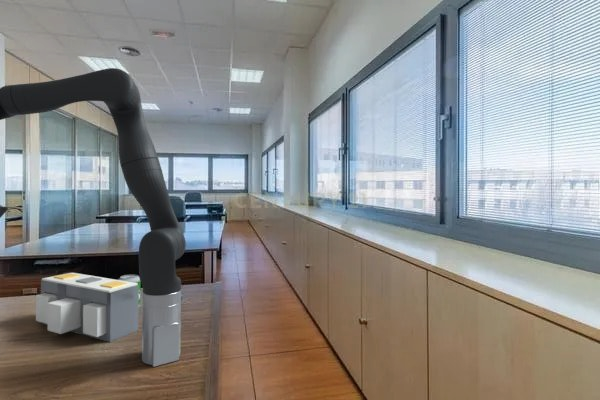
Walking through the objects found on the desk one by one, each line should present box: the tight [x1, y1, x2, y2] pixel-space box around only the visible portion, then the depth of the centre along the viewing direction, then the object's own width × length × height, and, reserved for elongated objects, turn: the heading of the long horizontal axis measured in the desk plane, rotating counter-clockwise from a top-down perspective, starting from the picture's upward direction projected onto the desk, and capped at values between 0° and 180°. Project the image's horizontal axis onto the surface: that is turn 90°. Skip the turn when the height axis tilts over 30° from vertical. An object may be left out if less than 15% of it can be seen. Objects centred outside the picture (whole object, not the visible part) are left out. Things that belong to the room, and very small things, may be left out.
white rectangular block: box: [35, 293, 58, 324], centre depth 109 cm, size 9×6×8 cm, turn 157°
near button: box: [83, 302, 107, 337], centre depth 100 cm, size 9×6×8 cm, turn 157°
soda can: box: [117, 274, 141, 308], centre depth 123 cm, size 8×8×12 cm
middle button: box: [47, 297, 81, 335], centre depth 102 cm, size 9×6×8 cm, turn 157°
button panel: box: [40, 272, 139, 343], centre depth 107 cm, size 10×32×15 cm, turn 67°
